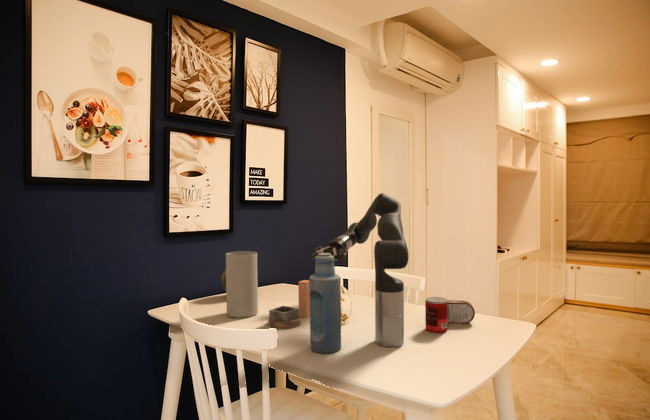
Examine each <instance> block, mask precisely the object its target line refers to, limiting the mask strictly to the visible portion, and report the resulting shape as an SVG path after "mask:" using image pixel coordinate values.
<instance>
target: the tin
mask: <svg viewBox="0 0 650 420" xmlns="http://www.w3.org/2000/svg"><path fill="white" fill-rule="evenodd" d="M447 300H448V324H454V323H456V324H457V323H458V324H459V323H461V324H463V325H464V324H465V325H466V324H470V323H471V322H472V321H473V320H474V318H475V315H476V311H475V309H474V306H473V305H472V304H471V303H470V302H469V301H467V300H453V299H447ZM458 324H457V325H458ZM461 324H459V325H461Z"/></svg>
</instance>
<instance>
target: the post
mask: <svg viewBox="0 0 650 420" xmlns="http://www.w3.org/2000/svg"><path fill="white" fill-rule="evenodd" d="M298 309H299V317H300V318H304V319H308V318H310V289H309V279H307V280H306V279H304V280H300V281H298Z"/></svg>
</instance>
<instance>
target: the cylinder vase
mask: <svg viewBox="0 0 650 420" xmlns="http://www.w3.org/2000/svg"><path fill="white" fill-rule="evenodd" d="M225 270H226V291H225V292H226V293H225V294H226V315H227V316H228V317H230V318H233V317H235V319H245V317H246V318H250V317H251V318H252V317H254V316H255V315H257V314H258V311H259V310H258V309H259V304H258V303H259V302H258V300H259V299H258V297H259V293H258V291H259V290H258V289H259V288H258V285H259V284H258V252H256V251H252V250H251V251H247V250H246V251H245V250H242V251H231V252H230V251H229V252H226V253H225Z"/></svg>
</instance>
